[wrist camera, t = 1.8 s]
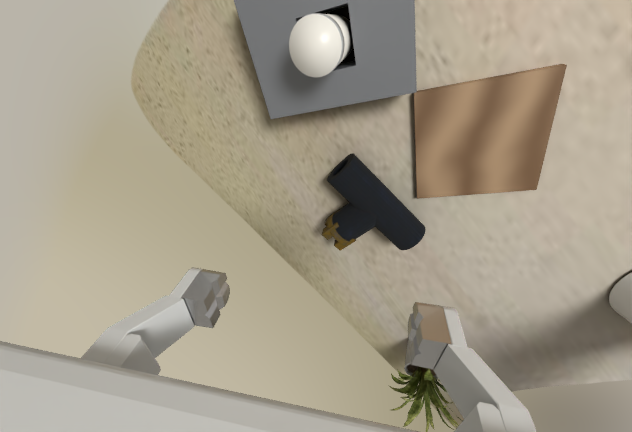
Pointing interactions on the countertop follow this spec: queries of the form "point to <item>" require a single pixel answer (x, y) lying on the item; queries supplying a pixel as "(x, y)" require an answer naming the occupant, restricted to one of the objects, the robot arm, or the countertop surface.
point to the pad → (485, 133)
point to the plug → (320, 43)
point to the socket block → (347, 78)
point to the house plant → (421, 391)
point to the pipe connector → (368, 208)
